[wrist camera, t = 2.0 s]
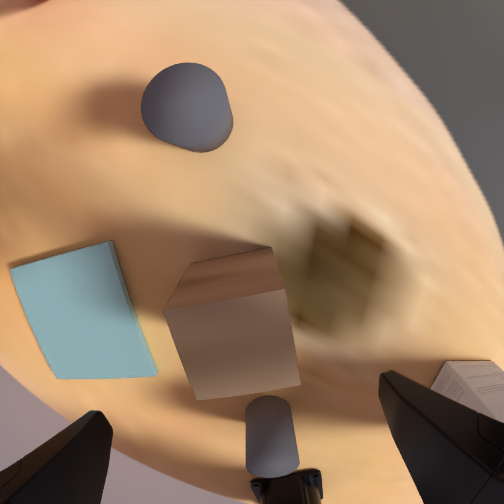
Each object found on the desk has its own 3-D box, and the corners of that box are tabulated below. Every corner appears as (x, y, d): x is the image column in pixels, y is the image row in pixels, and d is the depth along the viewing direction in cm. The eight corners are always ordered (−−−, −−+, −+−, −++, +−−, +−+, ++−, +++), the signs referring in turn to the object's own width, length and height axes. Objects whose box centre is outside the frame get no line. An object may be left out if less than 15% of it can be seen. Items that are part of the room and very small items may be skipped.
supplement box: (403, 425, 21) (458, 534, 8) (445, 357, 19) (535, 465, 7) (456, 420, 21) (512, 504, 9) (494, 359, 19) (571, 438, 7)
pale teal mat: (158, 370, 18) (155, 376, 18) (60, 374, 19) (56, 378, 18) (112, 240, 16) (107, 242, 15) (14, 267, 16) (9, 269, 16)
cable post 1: (238, 145, 15) (234, 132, 10) (178, 159, 15) (148, 153, 10) (226, 88, 14) (218, 53, 9) (167, 102, 14) (136, 76, 9)
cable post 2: (292, 421, 20) (301, 473, 15) (250, 428, 20) (251, 480, 15) (287, 392, 19) (296, 446, 14) (241, 399, 19) (240, 454, 14)
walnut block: (285, 320, 17) (300, 385, 12) (210, 333, 18) (196, 400, 12) (271, 247, 16) (285, 288, 11) (190, 263, 16) (163, 310, 11)
